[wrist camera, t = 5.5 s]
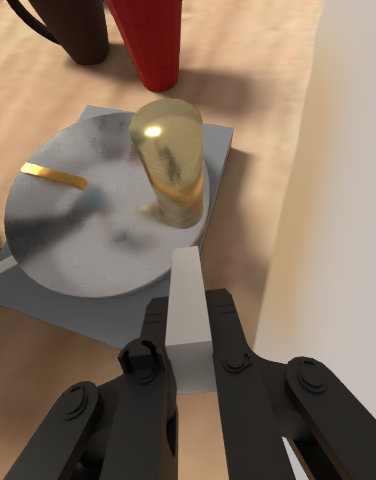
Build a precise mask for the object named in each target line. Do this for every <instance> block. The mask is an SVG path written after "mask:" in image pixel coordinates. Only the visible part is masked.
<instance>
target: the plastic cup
mask: <svg viewBox="0 0 376 480" xmlns="http://www.w3.org/2000/svg"><path fill="white" fill-rule="evenodd" d="M105 2H106V3H107V5H108V7H109V10H110V12H111V15H112V16H113V17H114V20H115V22H116V24H117V27H118V29H119V31H120V34H121V36H122V38H123V41H124V43H125V45H126V48H127V50H128V52H129V55H130V57H131V59H132V62H133V64H134V65H135V67H136V69H137V72H138V74H139V76H140V79H141V81H142V83H143V84H144V86H145V87H146V88H147V89H148V90H152V91H164V90H168V89H169V88H171V87H173V86H174V85H175V83H176V82H177V79H178V73H179V53H180V36H181V12H182V0H105Z"/></svg>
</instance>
